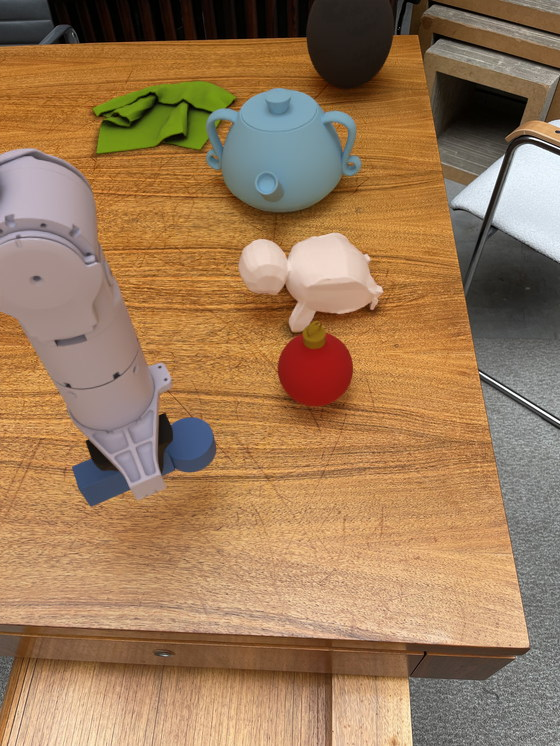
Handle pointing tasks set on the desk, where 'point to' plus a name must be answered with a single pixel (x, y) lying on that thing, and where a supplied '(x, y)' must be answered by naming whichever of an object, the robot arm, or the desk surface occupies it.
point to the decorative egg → (349, 40)
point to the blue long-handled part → (183, 453)
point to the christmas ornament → (315, 367)
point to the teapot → (282, 150)
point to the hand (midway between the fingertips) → (143, 461)
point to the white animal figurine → (311, 275)
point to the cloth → (160, 116)
